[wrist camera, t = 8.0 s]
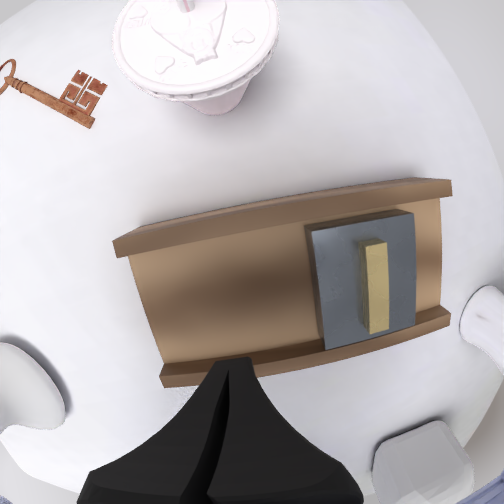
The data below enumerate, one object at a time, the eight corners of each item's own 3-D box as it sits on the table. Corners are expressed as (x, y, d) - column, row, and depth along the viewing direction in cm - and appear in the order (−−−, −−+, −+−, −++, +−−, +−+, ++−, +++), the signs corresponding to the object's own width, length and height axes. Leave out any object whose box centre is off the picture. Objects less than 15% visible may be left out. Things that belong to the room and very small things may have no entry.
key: (123, 81, 17) (20, 41, 15) (119, 76, 16) (15, 37, 14) (81, 148, 18) (-11, 93, 16) (75, 146, 17) (-17, 91, 15)
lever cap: (401, 311, 18) (422, 332, 15) (318, 333, 18) (329, 359, 15) (397, 208, 16) (423, 215, 13) (303, 225, 16) (316, 235, 14)
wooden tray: (420, 301, 21) (449, 325, 17) (176, 352, 22) (164, 388, 17) (414, 177, 19) (450, 179, 14) (139, 227, 19) (112, 241, 15)
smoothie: (246, 38, 16) (249, -119, 3) (278, 117, 18) (347, 0, 4) (157, 69, 17) (50, -49, 3) (185, 149, 18) (60, 97, 5)
